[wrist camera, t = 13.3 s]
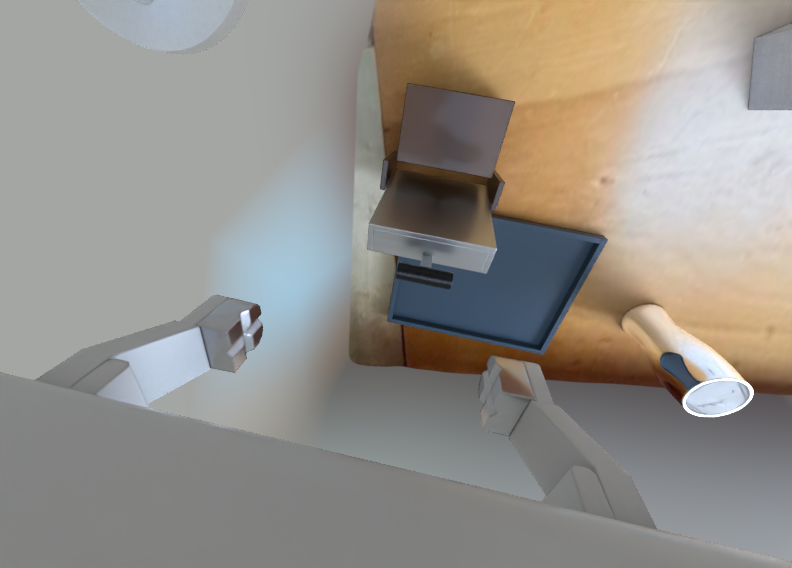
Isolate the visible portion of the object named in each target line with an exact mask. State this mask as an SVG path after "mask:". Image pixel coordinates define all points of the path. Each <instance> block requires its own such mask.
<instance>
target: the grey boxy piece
mask: <svg viewBox="0 0 792 568" xmlns="http://www.w3.org/2000/svg"><path fill="white" fill-rule="evenodd" d="M749 110H792V23H790V24H788V25H785V26H783V27H781V28H778V29H776V30H773V31H771V32H769V33H766V34H764V35H762V36H759V37H757V38H755V39H754V50H753V62H752V74H751V86H750V98H749Z"/></svg>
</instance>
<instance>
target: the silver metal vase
mask: <svg viewBox="0 0 792 568" xmlns="http://www.w3.org/2000/svg"><path fill="white" fill-rule="evenodd" d="M621 325H622V328H623V330H624V331H625V332H626V333H627V334H628V335H630V336H631V337H632V338H634V339H635V340H636V341H637V342H638V344H639V345H640V347H641V349H642V350H643V352H644V354H645V357H646V359H647V361H648V363H649V365H650V366H651V368H652V370H653V372H654V373H655V375H656V376H657V378H658V379H659V380H660V382H661V383H662V384H663V385H664V387H665V388H666V389H667V390H668V391H669V392H670V393H671V394H672V396H673V397H674V398H675V399H676V400H677V401H678V402H679V403H680V404H681V405H682V406H683V407H684V409H685V410H686V411H688V412H689V413H691V414H694V415H697V416H703V417H714V416H721V415H726V414H729V413H732V412H735V411H737V410H739V409H741V408H742V407H744V406H745V405H746V404H747V403H749V401H750V400H751V399H752V397H753V388H752V387H751V385H750V384H749V383H747V382H746V381H745V380H744V379H743V377H742V376H741V375H740V374H739V373H738V372H737V371H736V370H735V369H734V368H733V367H732V366H731V365H730V364H729V363H728V362H727V361H726V360H725V359H724V358H723V357H722V356H721V355H719V354H718V353H717V352H716V351H715V350H713V349H712V348H711V347H709V346H708V345H706V344H705V343H704V342H702V341H701V340H699V339H697V338H696V337H694V336H693V335H691V334H689V333H688V332H686V331H684V330H683V329H681V328H680V327H678V326H677V325H676V324H675V323H674V322H673V321H672V320H671V318H670V317H669V315H668V313H667V312H666V311H665V310H664V309H663V308H662V307H660V306H658V305H653V304H645V305H640V306H637V307H635V308H633V309H631V310H630V311H628V312H627V313H626V314H625V315H624V317H623V319H622V322H621Z"/></svg>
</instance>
